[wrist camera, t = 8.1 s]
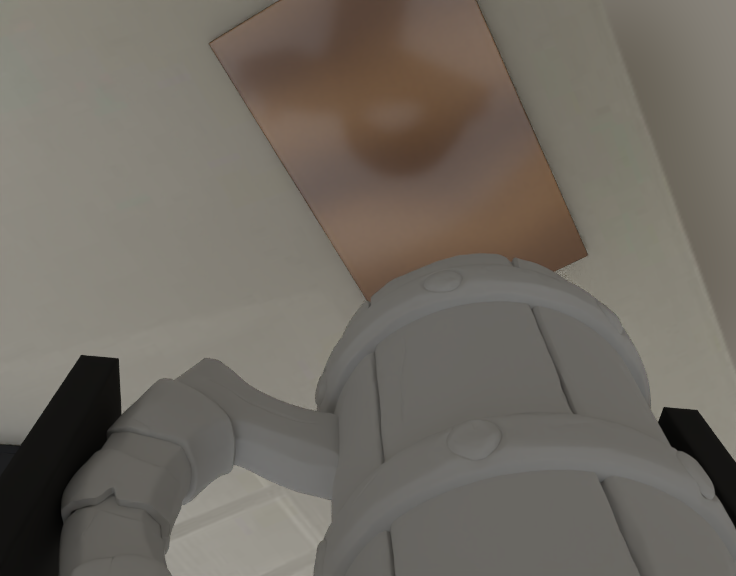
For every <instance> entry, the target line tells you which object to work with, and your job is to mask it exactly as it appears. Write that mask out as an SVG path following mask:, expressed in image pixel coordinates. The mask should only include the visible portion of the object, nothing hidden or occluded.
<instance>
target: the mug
mask: <svg viewBox="0 0 736 576" xmlns="http://www.w3.org/2000/svg"><path fill="white" fill-rule="evenodd" d="M315 401H316V404H317V411H314V410H309V409H305V408H301V407H298V406H294V405H291V404H288V403H286V402H283V401H280V400H278V399H275V398H273V397H271V396H269V395H267V394H265V393H262V392H261V391H259V390H257V389H255V388H253V387H252V386H250V385H249V384H248V383H246V382H245V381H244V380H243V379H241V378H240V377H239V376H238V375H237V374H236V373H235V372H234V371H233V370H231V369H230V368H229V367H227V366H226V365H224V364H223V363H222V362H221V361H219V360H216V359H210V358H204V359H203V360H201V361H200V362H199V363H197V364H196V365H195V366H193V367H192V368H190V369H189V370H188V371H186V372H185V373H184V374H182V375H181V376H179V377H178V378H177V379H175V380H172V379H167V378H163V379H159V380H158V381H157V382H156V383H155V384H153V385H152V386H151V387H150V388H149V389H148V390H147V391H146V392H145V393H144V394H143V395H142V396H141V397H140V398H139V399H138V400H137V401H136V402H135V403H134V404H133V405H132V406H130V407H129V408H128V409H127V410H126V411H125V412H124V413H123V414H122V415H121V416H120V417H119V418H118V419H117V420H116V421H115V423H114V424H113V425H112V426H111V427H110V428H109V429H108V431H107V441H106V443H105V444H104V446H103V447H102V449H101V450H99V451H97V452H95V453H94V454H93V455H92V456H91V458H90V459H89V460H88V461H87V462H86V463H85V464H84V465H83V466H82V467H81V468H80V469H79V470H78V471H77V472H76V473H75V475H74V476H73V477H72V479H71V480H70V481H69V483H68V485H67V486H66V488H65V490H64V492H63V495H62V499H61V515H62V519H63V523H64V525H63V528H62V531H61V537H60V548H59V576H172V575H171V573H170V572H169V570H168V569H167V565H166V561H165V554H166V553H167V551H168V549H169V542H170V535H171V531H172V528H173V525H174V523H175V520H176V518H177V516H178V514H179V512H180V510H181V506H182V505H185V504H187V503H188V502H190V501H192V500H193V499H194V498H195V497H196V496H197V495H198V494H199V493H200V492H201V491H202V490H203V489H204V488H206V487H207V486H208V485H209V484H210V483H211V482H213V481H214V480H215V479H217V478H218V477H220V476H222V475H225V474H228V473H230V472H231V470H232V468H233V465H237V466H240V467H243V468H245V469H247V470H249V471H251V472H253V473H255V474H257V475H259V476H261V477H263V478H265V479H267V480H269V481H271V482H274V483H276V484H278V485H281V486H283V487H286V488H288V489H290V490H293V491H296V492H300V493H304V494H308V495H312V496H316V497H320V498H324V499H328V500H332V523H331V525H330V526H329V528H328V530H327V532H326V534H325V537H324V540H323V541H321V542H320V543H319V545H318V547H317V553H316V560H315V565H314V575H313V576H736V529H735V527H734V525H733V523H732V521H731V519H730V518H729V516H728V514H727V512H726V511H725V509H724V507H723V505H722V504H721V502H720V500H719V499H718V498H717V496H716V495H715V490H714V486H713V483H712V481H711V480H710V478H709V476H708V475H707V474H706V472H705V471H704V470H703V468H702V467H701V466H700V464H699V463H698V462H697V461H696V460H695V459H694V458H692V457H691V456H690V455H688V454H686V453H684V452H682V451H677V450H676V449H675V448H673V447H671V446H670V444H669V442H668V440H667V438H666V436H665V435H664V433H663V431H662V429H661V427H660V426H659V424H658V422H657V420H656V418H655V416H654V415H653V413H652V411H651V397H650V388H649V382H648V378H647V374H646V371H645V368H644V365H643V363H642V360H641V358H640V356H639V354H638V351H637V350H636V348H635V346H634V344H633V342H632V341H631V339H630V337H629V336H628V334H627V333H626V331H625V330H624V328H623V327H622V324H621V322H620V320H619V318H618V317H617V315H616V314H615V313H614V312H612V311H611V310H610V309H609V308H608V307H606V306H605V305H604V304H602V303H601V302H599V301H598V300H597V299H596V298H595V297H593V296H592V295H591V294H589V293H588V292H587V291H585V290H583V289H582V288H580V287H578V286H577V285H575V284H573V283H571V282H568V281H567V280H565V279H564V278H563V277H561V276H560V275H558V274H556V273H555V272H553V271H551V270H549V269H547V268H545V267H543V266H541V265H539V264H536V263H533V262H530V261H526V260H522V259H519V258H513V260H512V262H510V261H509V260H508V259H507V258H506V257H504V256H502V255H499V254H486V253H479V254H468V255H458V256H455V257H451V258H447V259H444V260H440V261H437V262H434V263H432V264H429V265H427V266H424V267H422V268H419V269H417V270H414V271H412V272H409V273H407V274H405V275H403V276H400V277H398V278H395V279H393V280H392V281H390V282H388V283H387V284H386V285H385V286H384V287H382V288H381V289H380V290H379V291H378V292H376V293H375V294H374V295H373V296H372V297H371V302H369V301H367V300H366V301H365V302H364V303H363V304H362V306H361V307H360V308H359V309H358V310H357V312H356V313H355V314H354V316H353V317H352V319H351V320H350V322H349V324H348V325H347V327H346V329H345V331H344V333H343V336H342V338H341V339H340V340H339V341H338V343H337V344H336V346H335V347H334V349H333V351H332V353H331V355H330V357H329V359H328V361H327V363H326V366H325V368H324V372H323V374H322V375H321V377H320V378H319V381H318V384H317V388H316V396H315Z"/></svg>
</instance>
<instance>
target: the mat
mask: <svg viewBox="0 0 736 576" xmlns="http://www.w3.org/2000/svg"><path fill="white" fill-rule="evenodd" d="M209 45H210V47H211V48H212V50H213V52H214V53H215V55H216V57H217V58H218V60H219V61H220V63H221V65H222V66H223V68H224V70H225V71H226V73H227V74H228V76H229V78H230V79H231V81H232V83H233V84H234V86H235V87H236V89H237V91H238V92H239V94H240V95H241V97H242V99H243V100H244V102H245V104H246V105H247V107H248V108H249V110H250V112H251V113H252V115H253V117H254V118H255V120H256V121H257V123H258V125H259V126H260V128H261V130H262V131H263V133H264V134H265V136H266V138H267V139H268V141H269V143H270V144H271V146H272V147H273V149H274V151H275V152H276V154H277V155H278V157H279V159H280V160H281V162H282V164H283V165H284V167H285V168H286V170H287V172H288V173H289V175H290V177H291V178H292V180H293V181H294V183H295V185H296V186H297V188H298V190H299V191H300V193H301V194H302V196H303V198H304V199H305V201H306V202H307V204H308V206H309V207H310V209H311V211H312V212H313V214H314V215H315V217H316V219H317V220H318V222H319V224H320V225H321V227H322V228H323V230H324V232H325V233H326V235H327V237H328V238H329V240H330V241H331V243H332V245H333V246H334V248H335V250H336V251H337V253H338V254H339V256H340V258H341V259H342V261H343V262H344V264H345V266H346V267H347V269H348V271H349V272H350V274H351V275H352V277H353V279H354V280H355V282H356V284H357V285H358V287H359V288H360V290H361V292H362V293H363V295H364V297H365V298H366V300H367V301H369V302H371V297H372V296H373V295H374V294H375V293H376V292H378V291H379V290H380V289H381V288H382V287H384V286H385V285H386V284H387V283H388V282H390V281H392V280H393V279H395V278H398V277H400V276H403V275H405V274H407V273H409V272H412V271H414V270H417V269H419V268H422V267H424V266H427V265H429V264H432V263H434V262H437V261H440V260H444V259H447V258H451V257H455V256H458V255H468V254H479V253H486V254H499V255H502V256H504V257H506V258H507V259H508V260H509V261H510V262H512V260H513V258H519V259H522V260H526V261H530V262H533V263H536V264H539V265H541V266H543V267H545V268H547V269H549V270H551V271H553V272H554V271H556V270H558V269H560V268H562V267H565V266H567V265H569V264H571V263H573V262H575V261H577V260H579V259H582V258H584V257H586V256H588V254H587V251H586V249H585V247H584V245H583V242H582V240H581V238H580V235H579V233H578V231H577V229H576V226H575V224H574V222H573V219H572V217H571V215H570V213H569V210H568V208H567V206H566V204H565V201H564V199H563V197H562V194H561V192H560V190H559V188H558V185H557V183H556V181H555V178H554V176H553V174H552V172H551V169H550V167H549V165H548V163H547V160H546V158H545V156H544V153H543V151H542V149H541V147H540V144H539V142H538V140H537V137H536V135H535V133H534V131H533V128H532V126H531V124H530V122H529V119H528V117H527V115H526V112H525V110H524V108H523V106H522V103H521V101H520V99H519V97H518V94H517V92H516V90H515V87H514V85H513V83H512V81H511V78H510V76H509V74H508V71H507V69H506V67H505V65H504V62H503V60H502V58H501V56H500V53H499V51H498V49H497V46H496V44H495V42H494V40H493V37H492V35H491V33H490V30H489V28H488V26H487V24H486V21H485V19H484V17H483V15H482V12H481V10H480V8H479V5H478V3H477V1H476V0H279V1H277V2H276V3H274V4H272V5H271V6H269V7H267V8H266V9H264V10H262V11H261V12H259V13H258V14H256V15H254V16H253V17H251V18H249V19H248V20H246V21H244V22H243V23H241V24H239V25H238V26H236V27H235V28H233V29H231V30H230V31H228V32H226V33H225V34H223V35H221V36H220V37H218V38H216V39H215V40H213V41H211V42H210V43H209Z"/></svg>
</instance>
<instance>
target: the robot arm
mask: <svg viewBox="0 0 736 576" xmlns="http://www.w3.org/2000/svg"><path fill="white" fill-rule="evenodd" d="M120 416H121V395H120V375H119V358H108V357H97V356H86V355H81V356H80V358H79V359H78V361H77V362H76V364H75V365H74V367H73V368H72V370H71V371H70V373H69V374H68V376H67V377H66V379H65V380H64V382H63V383H62V385H61V386H60V388H59V389H58V391H57V392H56V393H55V395H54V396H53V398H52V399H51V401H50V402H49V404H48V405H47V407H46V408H45V410H44V411H43V413H42V414H41V416H40V417H39V419H38V420H37V422H36V423H35V425H34V426H33V428H32V429H31V431H30V432H29V434H28V435H27V437H26V438H25V440H24V441H23V443H22V444H21V446H20V447H19V449H18V450H17V452H16V453H15V455H14V456H13V458H12V459H11V461H10V462H9V464H8V465H7V467H6V468H5V470H4V471H3V473H2V474H1V476H0V576H59V548H60V537H61V531H62V528H63V525H64V523H63V519H62V515H61V499H62V495H63V492H64V490H65V488H66V486H67V485H68V483H69V481H70V480H71V479H72V477H73V476H74V475H75V473H76V472H77V471H78V470H79V469H80V468H81V467H82V466H83V465H84V464H85V463H86V462H87V461H88V460H89V459H90V458H91V456H92V455H93V454H94V453H95V452H97V451H99V450H101V449H102V447H103V446H104V444H105V443H106V441H107V431H108V429H109V428H110V427H111V426H112V425H113V424H114V423H115V421H116V420H117V419H118V418H119V417H120ZM658 424H659V426H660V427H661V429H662V431H663V433H664V435H665V436H666V438H667V440H668V442H669V444H670V446H671V447H673V448H675V449H676V450H677V451H682V452H684V453H686V454H688V455H690V456H691V457H692V458H694V459H695V460H696V461H697V462H698V463H699V464H700V466H701V467H702V468H703V470H704V471H705V472H706V474H707V475H708V476H709V478H710V480H711V481H712V483H713V486H714V490H715V495H716V496H717V498H718V499H719V500H720V502H721V504H722V505H723V507H724V509H725V511H726V512H727V514H728V516H729V518H730V519H731V521H732V523H733V525H734V527H735V529H736V462H735V461H734V459H733V458H732V457H731V455H730V454H729V453H728V451H727V450H726V449H725V447H724V446H723V444H722V443H721V442H720V440H719V439H718V438H717V436H716V435H715V434H714V432H713V431H712V429H711V428H710V427H709V425H708V424H707V423H706V421H705V420H704V418H703V417H702V416H701V414H700V413H699V412H698V410H691V409H679V408H668V407H664V408H663V411H662V413H661V416H660V419H659V421H658Z"/></svg>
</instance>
